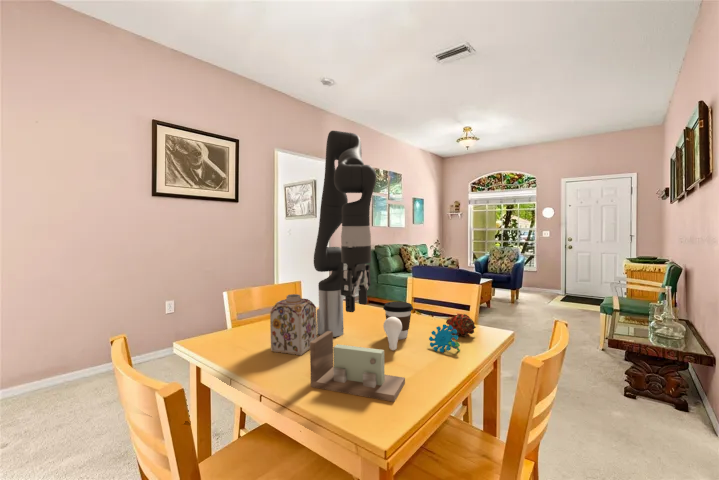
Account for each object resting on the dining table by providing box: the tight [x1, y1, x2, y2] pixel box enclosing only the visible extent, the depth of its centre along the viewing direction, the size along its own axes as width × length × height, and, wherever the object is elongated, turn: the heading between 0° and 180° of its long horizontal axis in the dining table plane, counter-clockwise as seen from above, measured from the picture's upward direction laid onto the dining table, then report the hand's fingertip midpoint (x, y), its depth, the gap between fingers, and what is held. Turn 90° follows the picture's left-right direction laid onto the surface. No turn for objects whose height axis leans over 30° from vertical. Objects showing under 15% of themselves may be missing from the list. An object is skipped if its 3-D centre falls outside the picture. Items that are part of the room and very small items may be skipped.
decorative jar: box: [269, 293, 318, 356], centre depth 115 cm, size 12×12×18 cm
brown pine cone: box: [445, 313, 477, 337], centre depth 127 cm, size 8×8×12 cm
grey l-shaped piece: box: [309, 331, 406, 403], centre depth 87 cm, size 22×10×12 cm, turn 68°
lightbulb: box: [382, 317, 402, 351], centre depth 112 cm, size 6×6×11 cm
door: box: [333, 343, 386, 385], centre depth 86 cm, size 13×4×8 cm, turn 68°
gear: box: [428, 323, 461, 353], centre depth 112 cm, size 11×6×10 cm
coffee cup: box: [383, 301, 414, 340], centre depth 125 cm, size 11×11×12 cm
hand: (356, 307), depth 87 cm, fingers open, 8 cm apart
